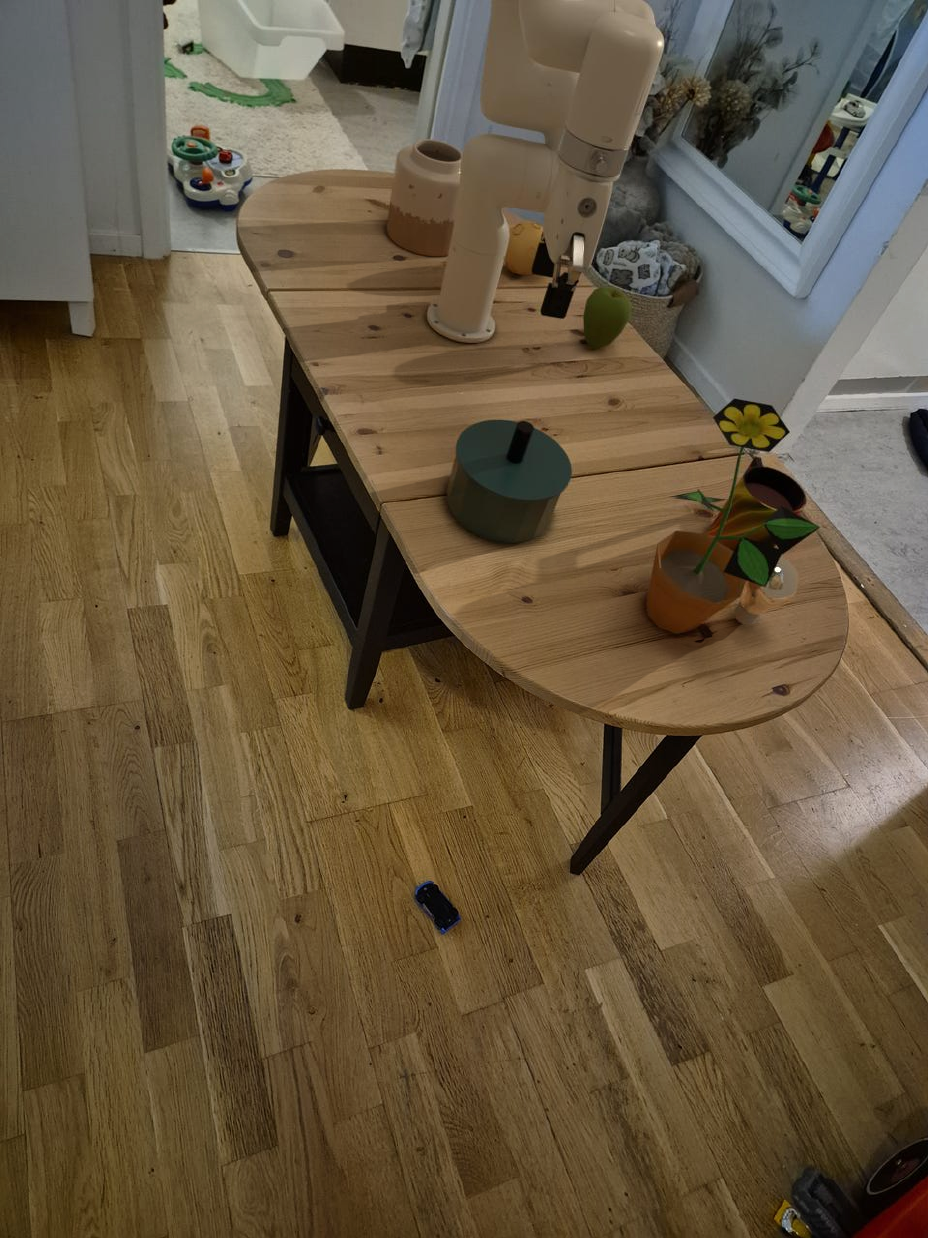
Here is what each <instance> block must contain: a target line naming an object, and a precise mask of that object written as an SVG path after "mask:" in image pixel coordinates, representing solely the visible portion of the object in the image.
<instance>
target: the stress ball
mask: <svg viewBox="0 0 928 1238" xmlns="http://www.w3.org/2000/svg"><path fill="white" fill-rule="evenodd" d="M542 232H543V225H541V224H540V223H538V222H535V221H530V220H526V221H521V222H518V223H516V224H515V225H513V226H512V227H511V228H509V233H510V236H509V243H508V247H507V251H506V254H505V258H504V263H505V264H504V265H505V266H506V268H507V269H508V271H510V272H511V273H512V274H515V275H516V274H517V275H520V276H532V275H534V274H532V271H531V269H532V265H533V262H534V258H535V255H536V252H537V248H538V245H539V242H541V234H542ZM541 243H544V242H541Z"/></svg>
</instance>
